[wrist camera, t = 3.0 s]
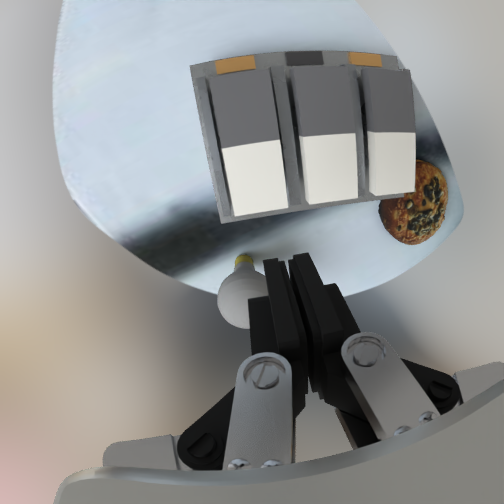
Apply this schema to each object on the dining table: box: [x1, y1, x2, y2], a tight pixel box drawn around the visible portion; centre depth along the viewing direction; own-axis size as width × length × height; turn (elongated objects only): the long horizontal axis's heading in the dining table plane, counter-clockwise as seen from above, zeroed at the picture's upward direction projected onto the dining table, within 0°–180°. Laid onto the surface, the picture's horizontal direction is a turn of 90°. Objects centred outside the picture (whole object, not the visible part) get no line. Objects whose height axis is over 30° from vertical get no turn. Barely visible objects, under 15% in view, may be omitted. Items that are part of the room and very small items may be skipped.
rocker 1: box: [209, 69, 288, 216], centre depth 18 cm, size 10×4×1 cm, turn 9°
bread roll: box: [378, 160, 448, 245], centre depth 28 cm, size 11×11×5 cm
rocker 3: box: [361, 68, 416, 196], centre depth 18 cm, size 10×4×1 cm, turn 9°
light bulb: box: [218, 255, 268, 328], centre depth 28 cm, size 6×6×10 cm
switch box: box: [190, 51, 410, 224], centre depth 21 cm, size 14×18×8 cm
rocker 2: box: [290, 66, 358, 205], centre depth 18 cm, size 10×4×1 cm, turn 9°
